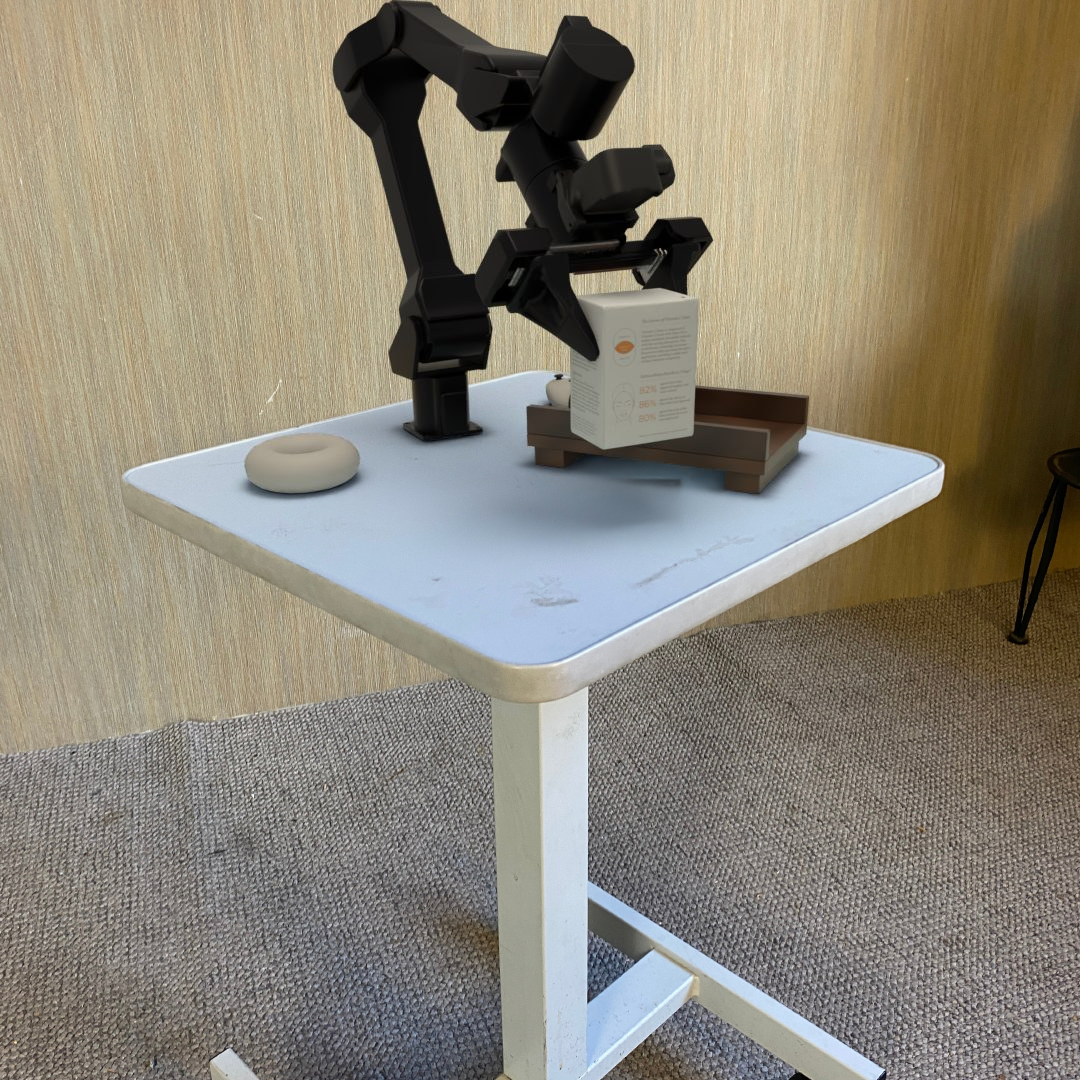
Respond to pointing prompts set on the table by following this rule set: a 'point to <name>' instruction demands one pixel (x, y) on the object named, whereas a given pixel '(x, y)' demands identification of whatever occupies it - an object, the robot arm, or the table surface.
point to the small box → (636, 368)
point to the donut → (302, 463)
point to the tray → (696, 436)
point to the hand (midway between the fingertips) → (643, 351)
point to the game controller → (559, 391)
